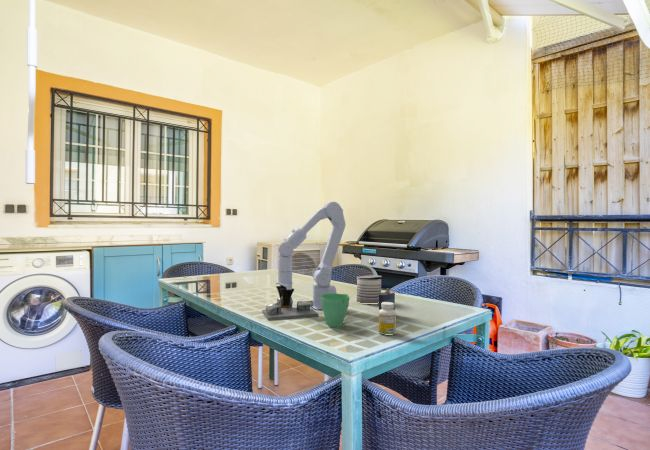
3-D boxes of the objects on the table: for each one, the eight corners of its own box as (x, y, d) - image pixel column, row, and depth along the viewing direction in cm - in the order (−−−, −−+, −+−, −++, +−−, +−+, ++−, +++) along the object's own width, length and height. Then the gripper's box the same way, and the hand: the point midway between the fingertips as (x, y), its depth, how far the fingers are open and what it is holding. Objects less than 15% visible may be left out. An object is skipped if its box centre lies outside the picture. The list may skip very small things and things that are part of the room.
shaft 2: (310, 308, 143) (311, 299, 143) (313, 310, 140) (313, 301, 140) (296, 309, 141) (296, 300, 141) (299, 311, 138) (299, 302, 138)
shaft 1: (275, 310, 138) (275, 302, 138) (282, 312, 136) (282, 303, 136) (264, 313, 133) (264, 304, 133) (271, 315, 131) (271, 306, 131)
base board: (308, 309, 146) (308, 306, 146) (318, 316, 135) (318, 313, 135) (262, 312, 139) (262, 309, 139) (268, 320, 128) (268, 317, 128)
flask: (390, 313, 141) (390, 286, 141) (396, 315, 139) (397, 287, 139) (377, 318, 134) (377, 289, 134) (383, 319, 132) (384, 290, 132)
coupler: (289, 306, 150) (290, 295, 150) (292, 308, 146) (292, 297, 146) (276, 307, 148) (276, 296, 148) (279, 309, 144) (279, 298, 144)
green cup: (341, 331, 116) (342, 300, 116) (315, 326, 121) (315, 297, 121) (358, 320, 129) (358, 293, 129) (333, 317, 134) (334, 290, 134)
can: (366, 305, 154) (366, 277, 154) (350, 300, 163) (351, 274, 163) (386, 303, 159) (387, 276, 159) (370, 298, 169) (371, 273, 169)
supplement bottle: (383, 330, 118) (383, 300, 118) (398, 333, 115) (398, 302, 115) (375, 333, 114) (376, 303, 114) (391, 337, 111) (391, 305, 111)
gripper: (271, 269, 152) (271, 301, 152) (279, 273, 139) (279, 309, 139) (288, 268, 155) (287, 300, 155) (297, 273, 141) (296, 307, 141)
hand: (284, 304), depth 147 cm, fingers closed on coupler, 4 cm apart
